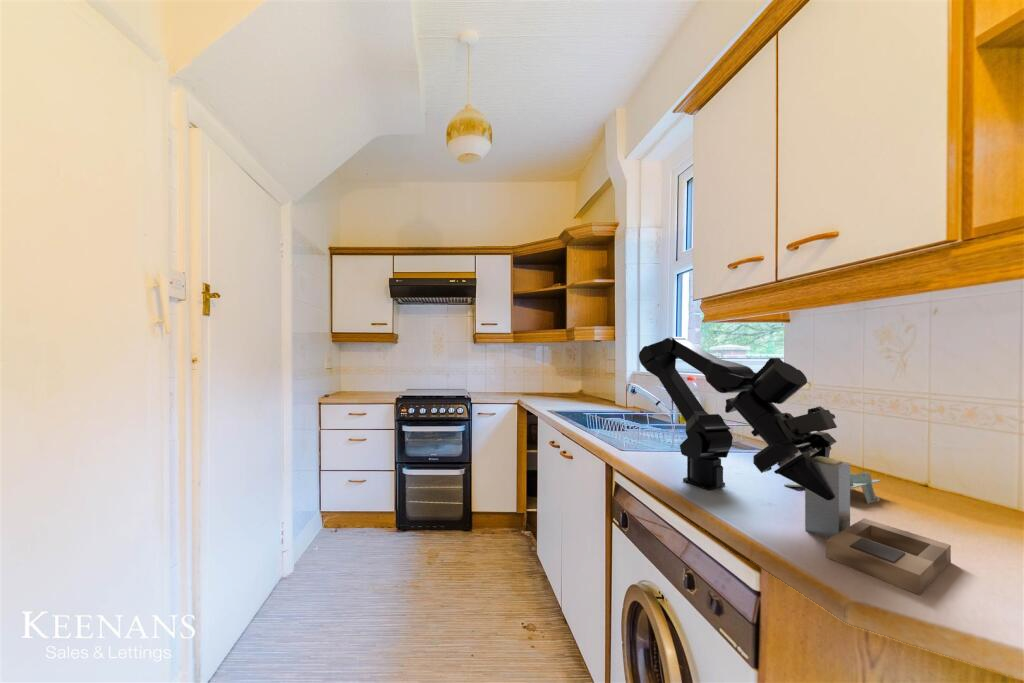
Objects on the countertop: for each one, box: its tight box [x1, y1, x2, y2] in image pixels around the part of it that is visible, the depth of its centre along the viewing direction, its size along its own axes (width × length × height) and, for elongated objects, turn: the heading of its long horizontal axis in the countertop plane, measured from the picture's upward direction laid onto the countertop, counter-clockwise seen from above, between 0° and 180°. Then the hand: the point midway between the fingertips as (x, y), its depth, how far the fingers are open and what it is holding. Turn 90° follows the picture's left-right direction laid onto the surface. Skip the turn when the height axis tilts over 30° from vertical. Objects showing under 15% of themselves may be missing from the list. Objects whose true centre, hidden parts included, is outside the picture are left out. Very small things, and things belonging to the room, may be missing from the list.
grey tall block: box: [804, 456, 851, 539], centre depth 61 cm, size 4×4×12 cm
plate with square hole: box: [825, 518, 952, 596], centre depth 54 cm, size 10×15×3 cm, turn 120°
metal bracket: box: [783, 471, 882, 505], centre depth 80 cm, size 14×6×15 cm
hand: (837, 496), depth 60 cm, fingers closed on grey tall block, 4 cm apart
